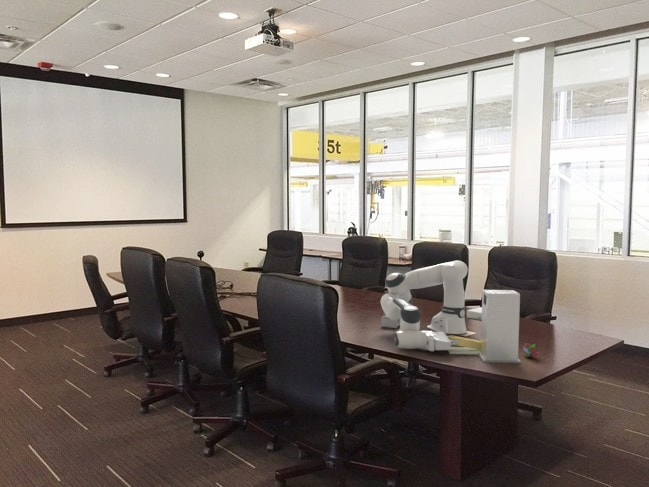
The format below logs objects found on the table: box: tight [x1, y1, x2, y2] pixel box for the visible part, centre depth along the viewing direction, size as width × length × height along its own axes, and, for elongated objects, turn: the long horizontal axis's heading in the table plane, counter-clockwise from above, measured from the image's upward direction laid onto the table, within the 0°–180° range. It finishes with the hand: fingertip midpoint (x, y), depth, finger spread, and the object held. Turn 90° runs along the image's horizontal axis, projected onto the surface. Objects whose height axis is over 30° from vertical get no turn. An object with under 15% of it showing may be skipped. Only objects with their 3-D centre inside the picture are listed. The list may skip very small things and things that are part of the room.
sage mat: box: [447, 346, 481, 355], centre depth 251 cm, size 22×9×1 cm, turn 87°
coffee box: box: [381, 314, 401, 329], centre depth 304 cm, size 9×6×16 cm
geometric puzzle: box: [522, 342, 540, 360], centre depth 242 cm, size 7×7×8 cm
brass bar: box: [448, 334, 481, 350], centre depth 250 cm, size 19×4×4 cm, turn 84°
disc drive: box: [466, 306, 482, 321], centre depth 327 cm, size 18×22×5 cm
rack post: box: [477, 289, 522, 364], centre depth 238 cm, size 16×11×31 cm
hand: (457, 340), depth 251 cm, fingers closed on brass bar, 4 cm apart
